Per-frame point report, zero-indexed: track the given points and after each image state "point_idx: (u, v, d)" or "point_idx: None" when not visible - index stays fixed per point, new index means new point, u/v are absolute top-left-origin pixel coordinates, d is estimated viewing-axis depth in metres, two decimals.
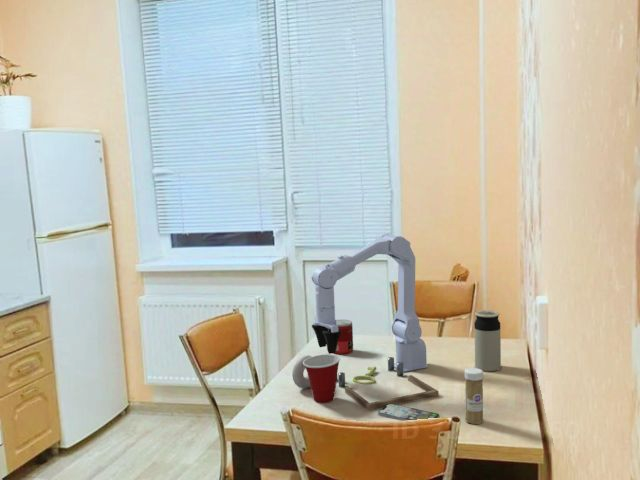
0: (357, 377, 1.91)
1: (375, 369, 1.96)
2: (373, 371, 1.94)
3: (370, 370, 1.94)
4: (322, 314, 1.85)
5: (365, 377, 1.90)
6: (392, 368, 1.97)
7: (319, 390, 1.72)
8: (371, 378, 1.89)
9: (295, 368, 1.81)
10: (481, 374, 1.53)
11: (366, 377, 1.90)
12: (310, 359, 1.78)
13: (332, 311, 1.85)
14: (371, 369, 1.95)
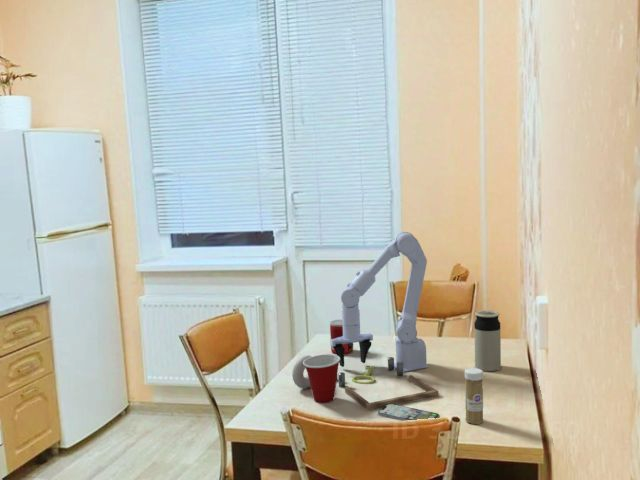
0: (356, 377, 1.91)
1: (373, 369, 1.96)
2: (371, 371, 1.95)
3: (368, 370, 1.95)
4: None
5: (364, 377, 1.90)
6: (392, 368, 1.97)
7: (319, 390, 1.72)
8: (370, 378, 1.89)
9: (295, 368, 1.81)
10: (481, 374, 1.53)
11: (366, 376, 1.90)
12: (310, 359, 1.78)
13: (345, 329, 1.98)
14: (369, 369, 1.95)
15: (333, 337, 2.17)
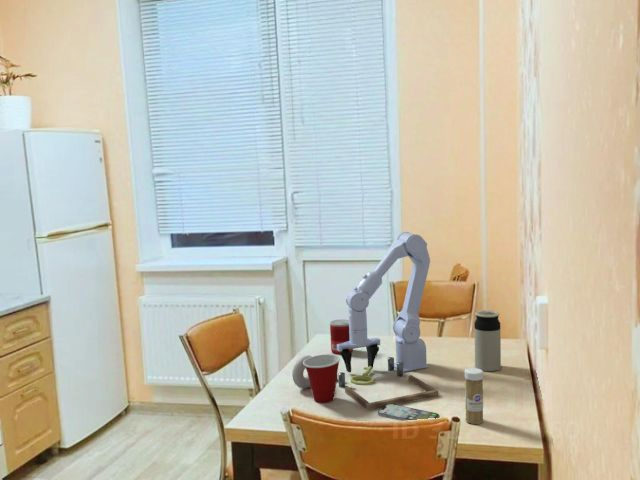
0: (355, 377, 1.90)
1: (371, 369, 1.96)
2: None
3: (367, 370, 1.94)
4: None
5: (363, 377, 1.90)
6: (392, 368, 1.97)
7: (319, 390, 1.72)
8: (369, 378, 1.88)
9: (295, 368, 1.81)
10: (481, 374, 1.53)
11: (364, 376, 1.89)
12: (310, 359, 1.78)
13: (352, 333, 1.93)
14: (367, 369, 1.95)
15: (333, 337, 2.17)
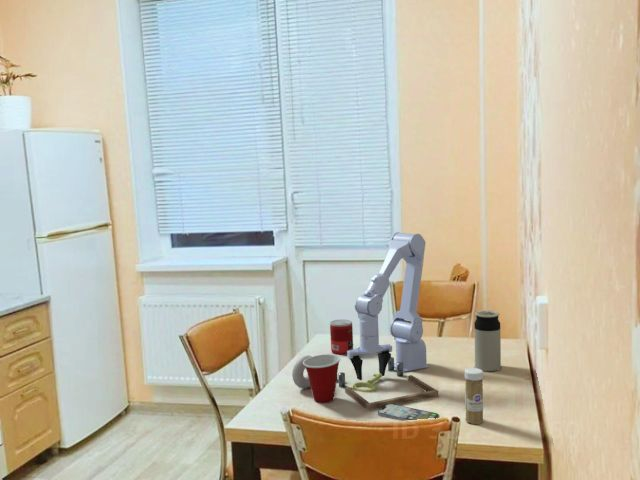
0: (358, 383, 1.85)
1: (380, 376, 1.89)
2: (377, 378, 1.87)
3: (374, 377, 1.87)
4: None
5: (366, 384, 1.84)
6: (392, 368, 1.97)
7: (319, 390, 1.72)
8: (372, 385, 1.82)
9: (295, 368, 1.81)
10: (481, 374, 1.53)
11: (368, 384, 1.83)
12: (310, 359, 1.78)
13: (363, 340, 1.86)
14: (376, 376, 1.88)
15: (333, 337, 2.17)
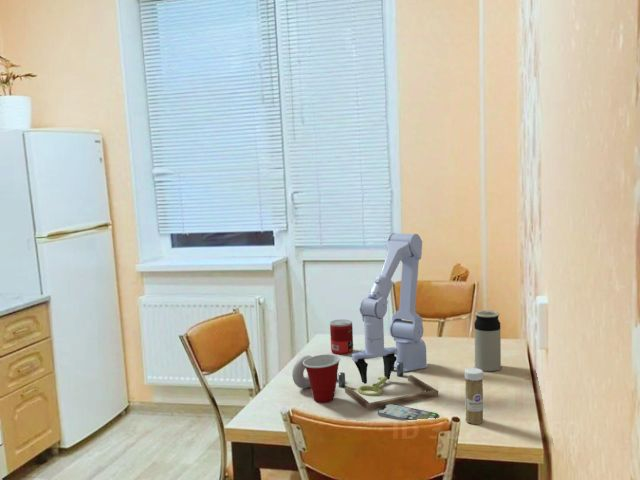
0: (363, 387, 1.81)
1: (385, 379, 1.86)
2: (383, 381, 1.84)
3: None
4: None
5: (372, 387, 1.80)
6: (392, 368, 1.97)
7: (319, 390, 1.72)
8: (377, 389, 1.79)
9: (295, 368, 1.81)
10: (481, 374, 1.53)
11: (373, 387, 1.80)
12: (310, 359, 1.78)
13: (368, 343, 1.82)
14: (381, 379, 1.85)
15: (333, 337, 2.17)
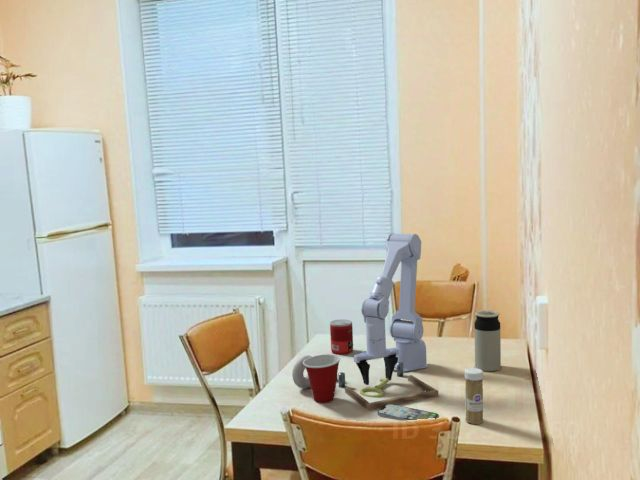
0: (365, 389, 1.80)
1: (387, 381, 1.85)
2: (384, 383, 1.83)
3: (381, 382, 1.83)
4: None
5: (374, 389, 1.79)
6: None
7: (319, 390, 1.72)
8: (380, 391, 1.78)
9: (295, 368, 1.81)
10: (481, 374, 1.53)
11: (375, 389, 1.79)
12: (310, 359, 1.78)
13: (370, 344, 1.81)
14: (382, 381, 1.84)
15: (333, 337, 2.17)
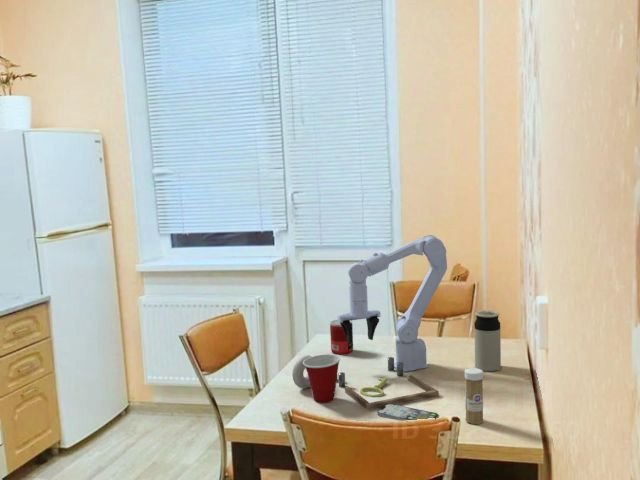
0: (365, 389, 1.80)
1: (386, 380, 1.85)
2: (384, 383, 1.84)
3: None
4: None
5: (374, 389, 1.80)
6: (392, 368, 1.97)
7: (319, 390, 1.72)
8: (380, 390, 1.78)
9: (295, 368, 1.81)
10: (481, 374, 1.53)
11: (375, 388, 1.79)
12: (310, 359, 1.78)
13: (353, 305, 1.96)
14: (382, 380, 1.84)
15: (333, 337, 2.17)
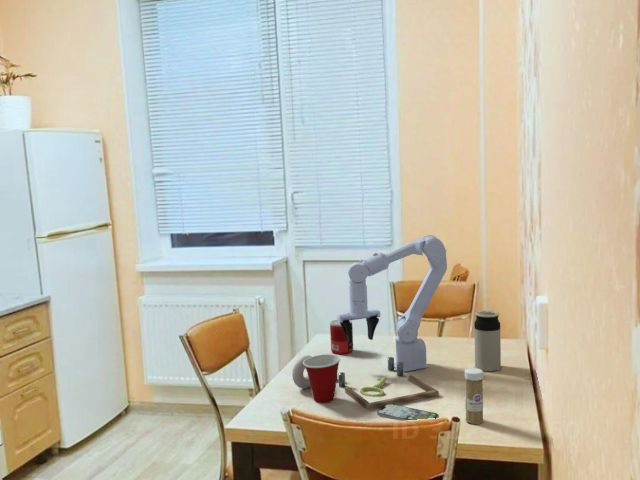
0: (365, 388, 1.81)
1: (385, 380, 1.85)
2: (383, 382, 1.84)
3: (380, 381, 1.84)
4: None
5: (373, 389, 1.80)
6: (392, 368, 1.97)
7: (319, 390, 1.72)
8: (379, 390, 1.79)
9: (295, 368, 1.81)
10: (481, 374, 1.53)
11: (375, 388, 1.80)
12: (310, 359, 1.78)
13: (353, 305, 1.96)
14: (381, 380, 1.85)
15: (333, 337, 2.17)
